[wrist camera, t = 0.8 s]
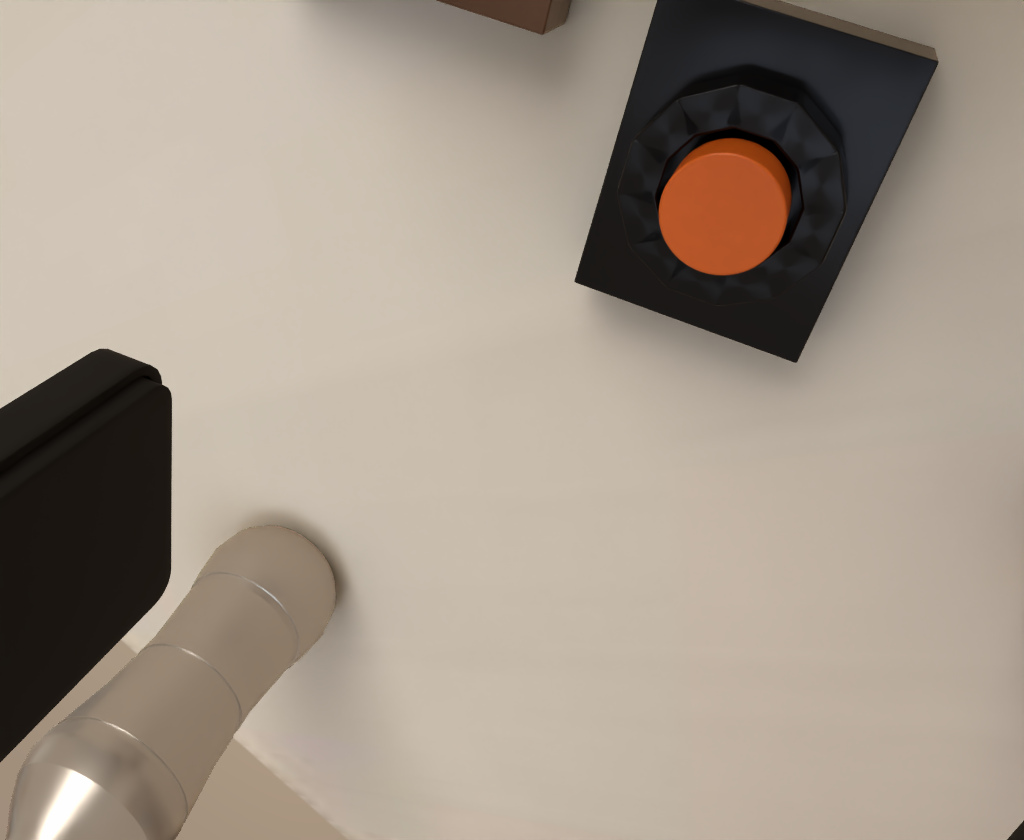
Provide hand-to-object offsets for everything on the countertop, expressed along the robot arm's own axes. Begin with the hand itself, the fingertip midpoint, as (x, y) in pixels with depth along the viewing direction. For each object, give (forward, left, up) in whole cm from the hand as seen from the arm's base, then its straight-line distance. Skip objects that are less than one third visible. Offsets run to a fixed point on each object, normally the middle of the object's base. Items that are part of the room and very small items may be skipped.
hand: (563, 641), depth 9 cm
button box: (+2, 0, -25) cm, 25 cm away
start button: (+2, -1, -21) cm, 22 cm away
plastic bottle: (+28, -14, -25) cm, 40 cm away
